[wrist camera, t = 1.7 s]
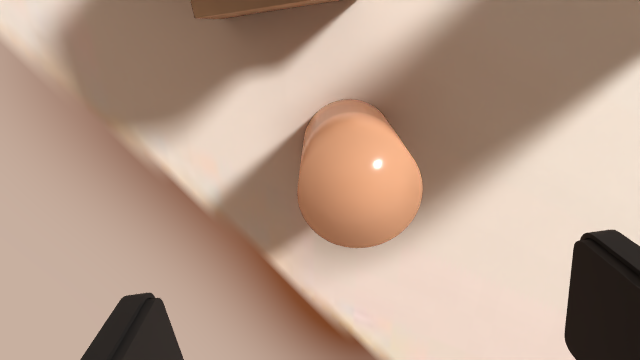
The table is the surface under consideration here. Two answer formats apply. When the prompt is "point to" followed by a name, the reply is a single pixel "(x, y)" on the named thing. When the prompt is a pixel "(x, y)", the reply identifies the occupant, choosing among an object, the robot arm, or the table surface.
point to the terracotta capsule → (356, 176)
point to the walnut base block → (243, 7)
